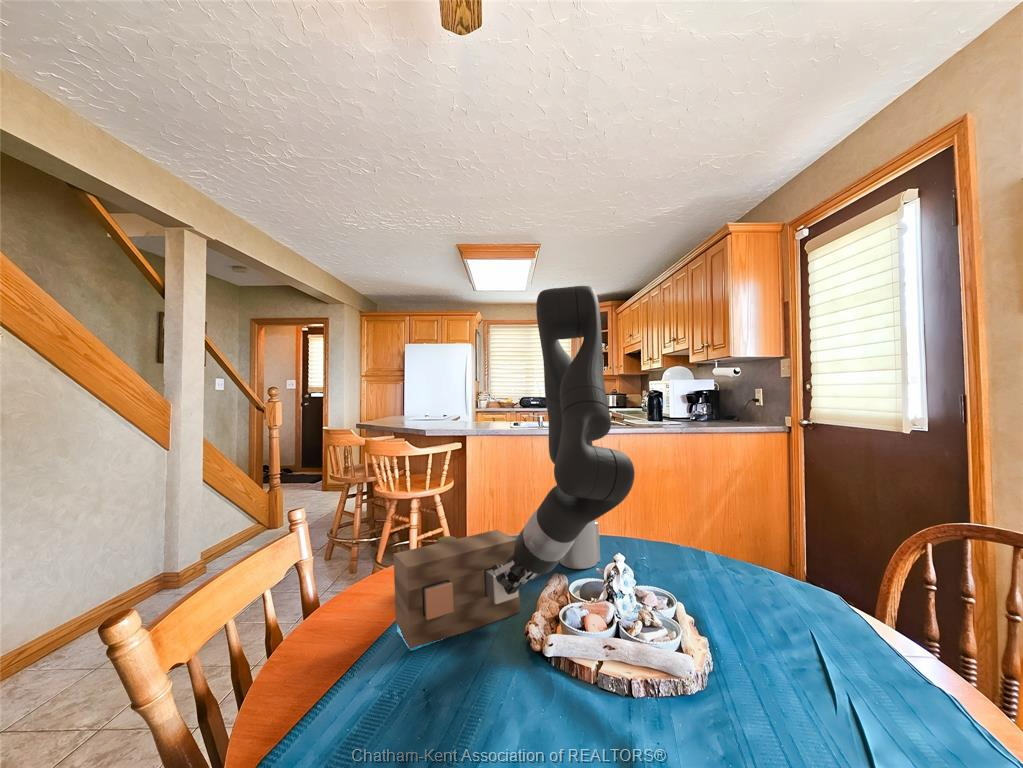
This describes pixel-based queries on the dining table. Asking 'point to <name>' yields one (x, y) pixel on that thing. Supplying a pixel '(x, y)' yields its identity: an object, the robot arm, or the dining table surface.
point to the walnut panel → (466, 573)
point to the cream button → (496, 588)
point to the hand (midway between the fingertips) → (509, 588)
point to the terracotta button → (437, 599)
